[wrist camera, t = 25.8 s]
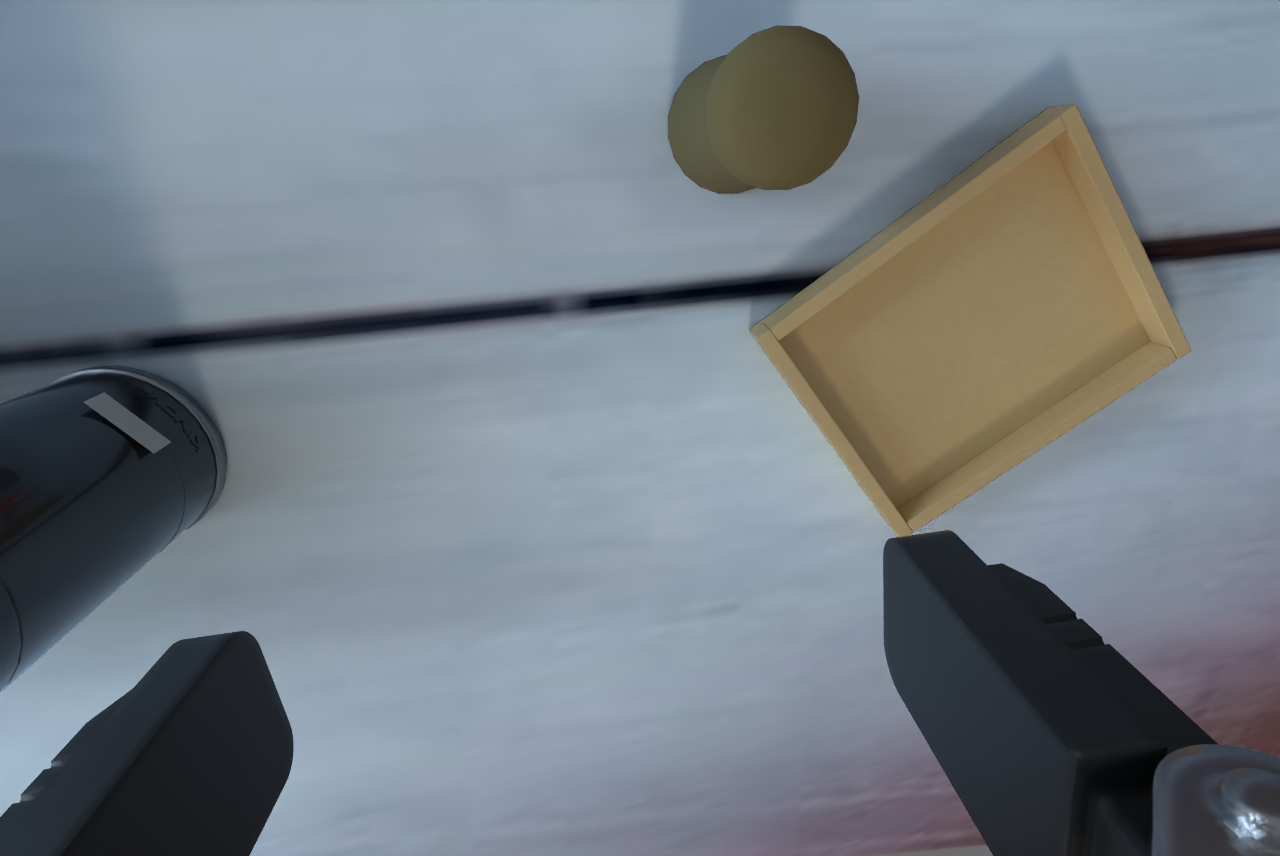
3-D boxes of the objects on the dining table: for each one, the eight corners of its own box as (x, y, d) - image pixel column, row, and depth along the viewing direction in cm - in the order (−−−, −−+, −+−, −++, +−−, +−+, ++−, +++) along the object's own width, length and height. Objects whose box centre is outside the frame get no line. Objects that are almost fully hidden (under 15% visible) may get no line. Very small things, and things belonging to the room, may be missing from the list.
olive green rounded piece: (676, 203, 34) (713, 218, 24) (658, 66, 32) (690, 17, 22) (799, 183, 34) (888, 189, 24) (789, 44, 32) (882, -15, 22)
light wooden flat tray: (887, 523, 41) (901, 540, 39) (748, 330, 37) (756, 339, 35) (1163, 341, 38) (1192, 350, 36) (1049, 106, 34) (1075, 102, 32)
